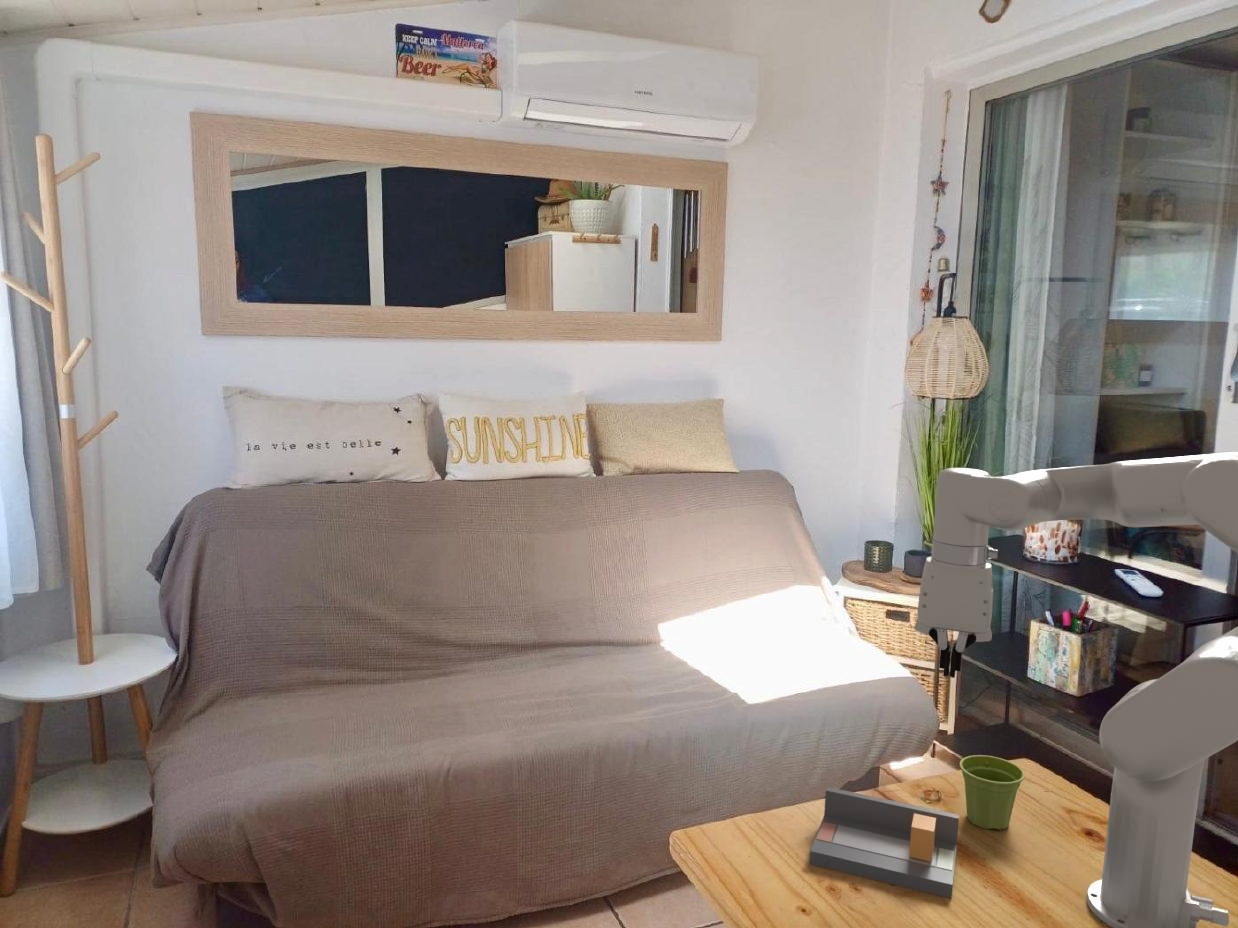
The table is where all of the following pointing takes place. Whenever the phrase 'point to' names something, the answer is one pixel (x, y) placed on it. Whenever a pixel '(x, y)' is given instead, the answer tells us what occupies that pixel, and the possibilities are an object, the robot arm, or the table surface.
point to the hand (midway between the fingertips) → (949, 673)
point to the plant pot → (990, 789)
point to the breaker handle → (922, 837)
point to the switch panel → (884, 842)
